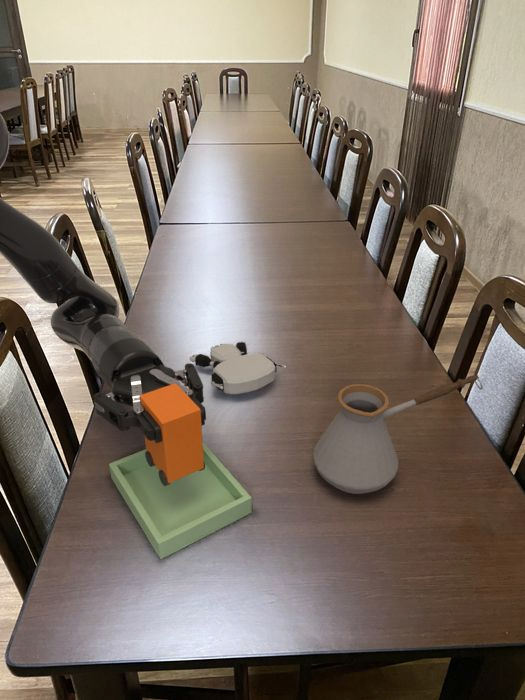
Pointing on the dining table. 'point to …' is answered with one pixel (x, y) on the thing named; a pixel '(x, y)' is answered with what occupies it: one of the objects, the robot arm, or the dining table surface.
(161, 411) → the toy van
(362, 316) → the dining table surface
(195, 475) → the green square tray
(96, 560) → the dining table surface
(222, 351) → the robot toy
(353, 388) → the coffee pot
